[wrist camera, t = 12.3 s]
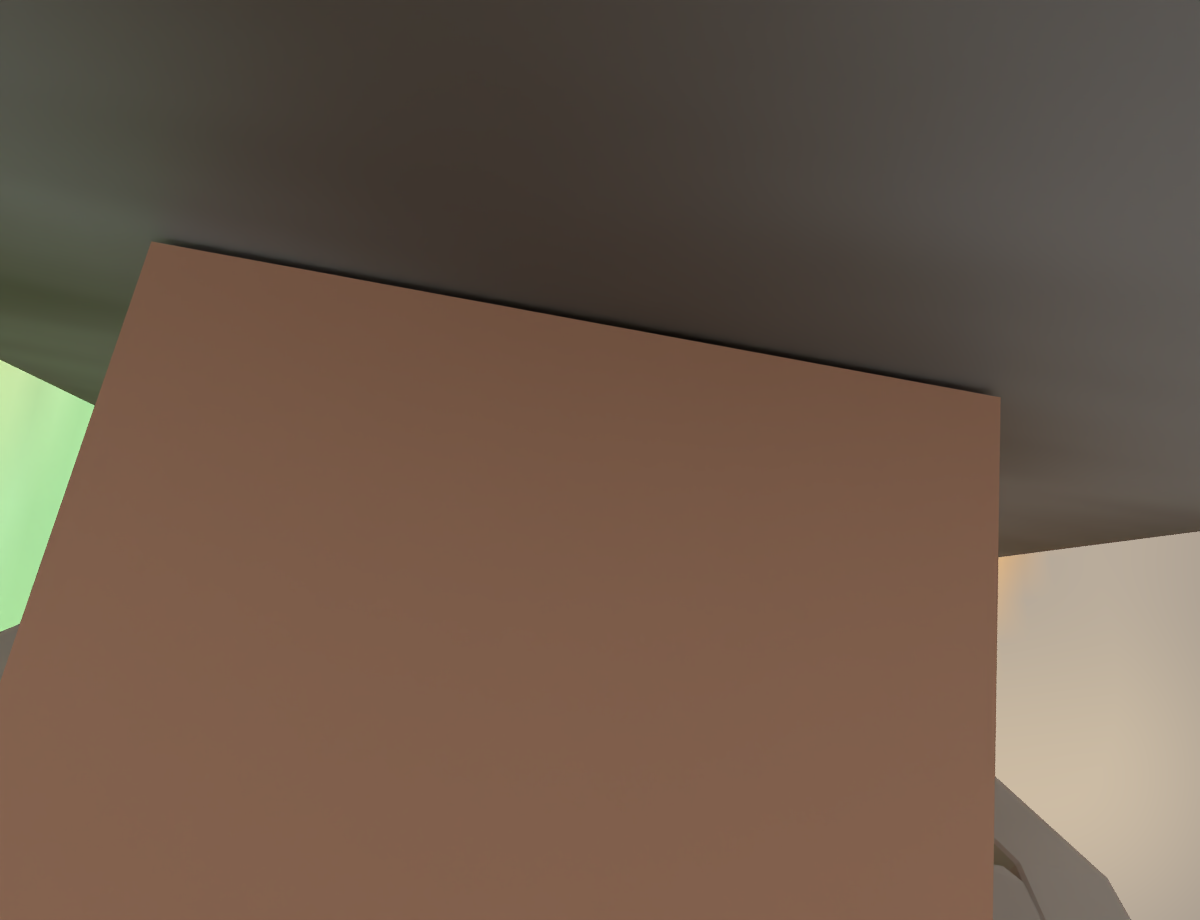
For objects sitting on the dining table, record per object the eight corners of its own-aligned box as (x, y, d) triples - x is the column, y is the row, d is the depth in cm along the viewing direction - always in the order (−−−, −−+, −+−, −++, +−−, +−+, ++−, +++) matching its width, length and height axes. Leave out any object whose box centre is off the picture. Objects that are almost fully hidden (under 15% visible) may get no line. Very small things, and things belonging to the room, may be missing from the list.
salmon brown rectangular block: (398, 709, 15) (-135, 1079, 3) (437, 523, 15) (151, 242, 4) (630, 743, 15) (986, 1203, 3) (654, 559, 16) (1000, 398, 4)
